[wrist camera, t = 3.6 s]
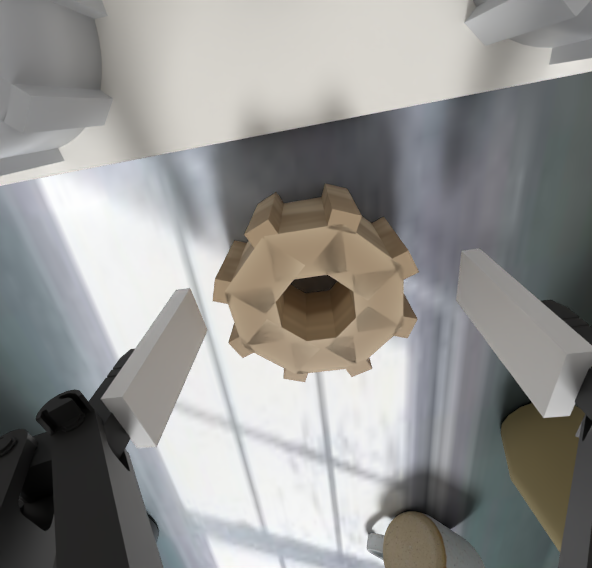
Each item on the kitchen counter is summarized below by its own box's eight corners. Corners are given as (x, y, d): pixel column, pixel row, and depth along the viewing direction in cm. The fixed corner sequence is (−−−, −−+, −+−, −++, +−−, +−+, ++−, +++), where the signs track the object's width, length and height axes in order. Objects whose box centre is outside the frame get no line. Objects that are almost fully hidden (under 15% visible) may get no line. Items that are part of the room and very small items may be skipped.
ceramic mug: (428, 496, 31) (460, 601, 25) (469, 523, 34) (508, 625, 28) (348, 526, 35) (357, 624, 29) (391, 549, 38) (409, 642, 32)
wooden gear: (255, 336, 21) (245, 388, 17) (214, 202, 16) (187, 232, 13) (393, 318, 20) (415, 370, 16) (391, 171, 16) (421, 194, 12)
